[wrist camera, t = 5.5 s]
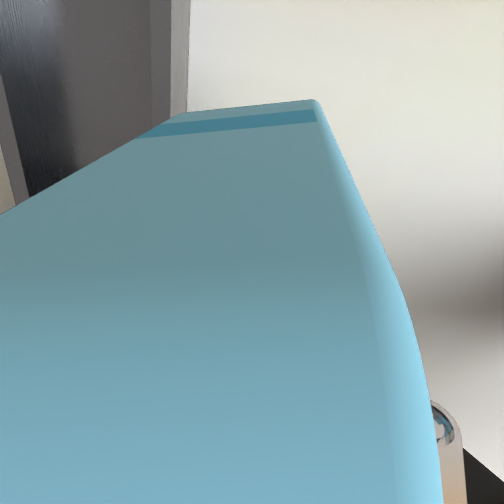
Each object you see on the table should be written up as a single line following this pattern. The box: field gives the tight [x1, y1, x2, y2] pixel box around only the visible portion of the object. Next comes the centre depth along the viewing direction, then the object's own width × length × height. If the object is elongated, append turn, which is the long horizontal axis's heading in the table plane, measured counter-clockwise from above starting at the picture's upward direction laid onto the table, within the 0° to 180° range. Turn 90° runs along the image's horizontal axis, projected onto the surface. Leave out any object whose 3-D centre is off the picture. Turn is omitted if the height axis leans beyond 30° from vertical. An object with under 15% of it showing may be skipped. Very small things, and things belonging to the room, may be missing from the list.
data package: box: [0, 99, 444, 504], centre depth 9 cm, size 12×4×12 cm, turn 6°
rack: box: [0, 0, 190, 206], centre depth 20 cm, size 11×33×11 cm, turn 172°
